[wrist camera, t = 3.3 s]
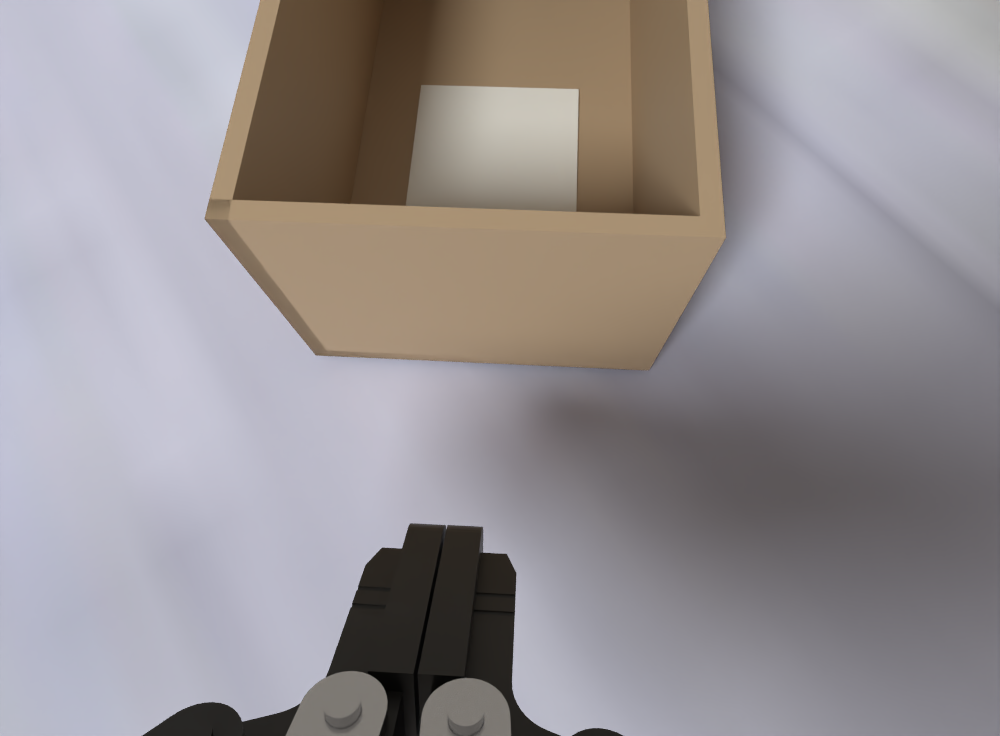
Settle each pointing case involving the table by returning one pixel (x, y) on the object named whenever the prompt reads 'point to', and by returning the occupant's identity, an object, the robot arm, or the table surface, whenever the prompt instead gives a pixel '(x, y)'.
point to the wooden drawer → (476, 176)
